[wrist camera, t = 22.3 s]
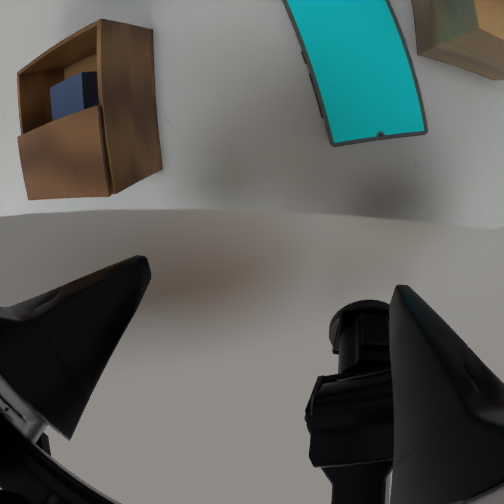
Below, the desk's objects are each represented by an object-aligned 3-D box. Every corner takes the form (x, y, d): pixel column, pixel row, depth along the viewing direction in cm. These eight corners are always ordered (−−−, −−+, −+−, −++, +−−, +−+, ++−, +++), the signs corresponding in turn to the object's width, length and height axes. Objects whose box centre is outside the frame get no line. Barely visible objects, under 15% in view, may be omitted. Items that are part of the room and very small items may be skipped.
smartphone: (362, -49, 8) (428, 134, 15) (362, -44, 9) (425, 133, 16) (265, -34, 11) (329, 148, 17) (267, -29, 12) (329, 146, 18)
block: (117, 70, 18) (81, 71, 14) (121, 117, 20) (85, 125, 17) (84, 83, 19) (49, 87, 15) (88, 125, 21) (54, 135, 18)
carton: (162, 169, 22) (116, 194, 17) (76, 176, 25) (33, 198, 20) (152, 29, 16) (101, 18, 11) (64, 66, 19) (17, 72, 13)
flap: (111, 195, 17) (108, 196, 17) (30, 199, 19) (28, 200, 19) (100, 104, 14) (96, 105, 14) (19, 136, 16) (17, 137, 16)
